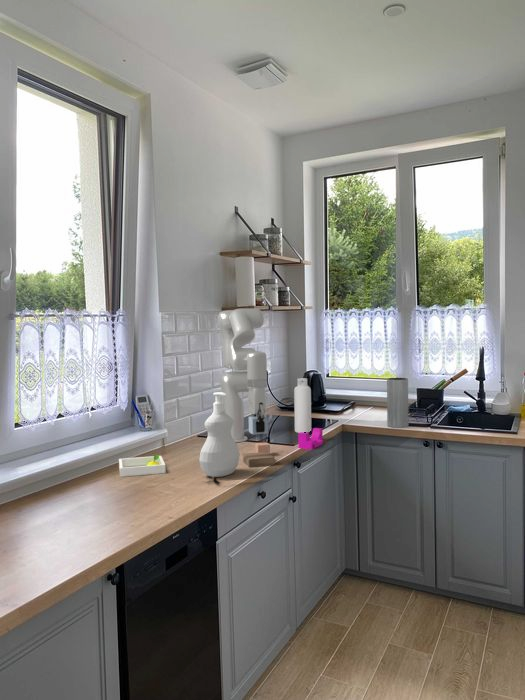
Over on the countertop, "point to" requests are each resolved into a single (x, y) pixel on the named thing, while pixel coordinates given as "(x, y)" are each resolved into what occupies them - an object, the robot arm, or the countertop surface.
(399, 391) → the vase
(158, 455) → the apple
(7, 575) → the countertop surface
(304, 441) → the toy block
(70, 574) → the countertop surface
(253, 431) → the slate block
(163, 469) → the ceramic fruit dish rim
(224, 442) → the soap bottle
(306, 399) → the bottle
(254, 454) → the walnut base plate
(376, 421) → the countertop surface
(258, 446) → the terracotta cube
